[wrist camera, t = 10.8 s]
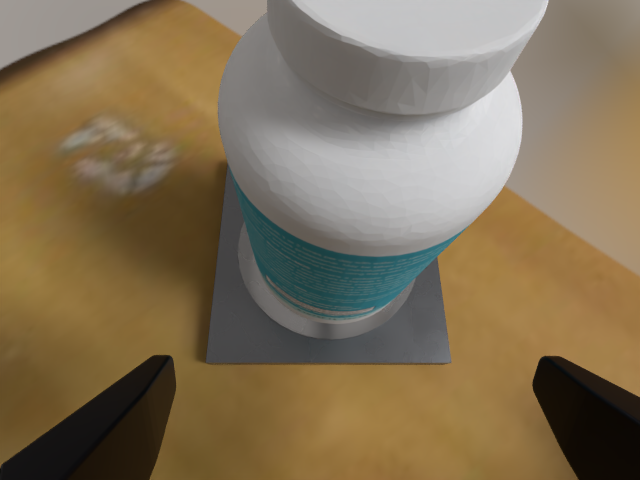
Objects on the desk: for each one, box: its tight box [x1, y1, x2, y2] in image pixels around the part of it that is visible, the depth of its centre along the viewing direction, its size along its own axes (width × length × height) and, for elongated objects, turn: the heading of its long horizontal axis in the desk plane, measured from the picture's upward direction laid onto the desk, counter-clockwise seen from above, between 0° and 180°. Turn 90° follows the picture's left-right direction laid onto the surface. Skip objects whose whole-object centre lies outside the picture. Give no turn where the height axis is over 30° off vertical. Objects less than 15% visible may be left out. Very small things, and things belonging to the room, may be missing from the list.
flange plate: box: [206, 165, 451, 365], centre depth 19 cm, size 11×11×1 cm
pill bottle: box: [218, 0, 549, 324], centre depth 12 cm, size 8×7×14 cm
